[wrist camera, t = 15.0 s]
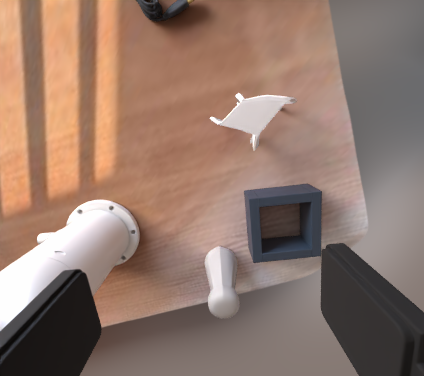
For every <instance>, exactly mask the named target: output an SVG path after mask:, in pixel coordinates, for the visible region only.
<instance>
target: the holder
mask: <svg viewBox="0 0 424 376" xmlns="http://www.w3.org/2000/svg"><path fill="white" fill-rule="evenodd" d="M244 195H245V207H246V220H247V233H248V245H249V250H250V253H251V256H252V259H253V263H259V262H268V261H277V260H287V259H297V258H307V257H317V256H321V203H322V191H320V190H318V189H316V188H315V187H313V186H311V185H309V184H301V185H292V186H283V187H274V188H265V189H255V190H246V191H244ZM295 203H300V235H297V236H287V237H278V238H268V239H261V227H260V211H259V207H267V206H276V205H286V204H295Z"/></svg>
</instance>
